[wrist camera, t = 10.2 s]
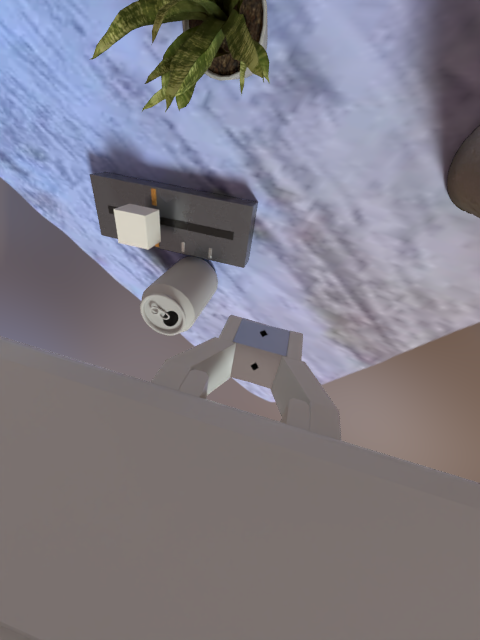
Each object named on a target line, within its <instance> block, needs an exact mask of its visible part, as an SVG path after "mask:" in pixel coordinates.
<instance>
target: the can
mask: <svg viewBox="0 0 480 640" xmlns="http://www.w3.org/2000/svg"><path fill="white" fill-rule="evenodd" d="M217 285H218V280H217V275H216V273H215V271H214V269H213V268H212V267H211V266H210V265H209V264H208V263H207V262H206V261H204V260H203V259H201V258H197V257H194V256H192V257H185V258H183V259H180V260H179V261H178V262H177V263H176V264H175V265H173V266H172V267H171V268H170V269H169V270H168V271H166V272H165V273H164V274H163V275H162V276H161V277H159V278H158V279H157V280H156V281H155V282H154V283H152V284H151V285H150V286H149V287H148V288H147V289H146V290H145V291H144V293H143V296H142V301H141V305H140V311H141V314H142V317H143V319H144V320H145V322H146V323H147V324H148V325H149V326H150V327H151V328H152V329H153V330H155V331H157V332H159V333H161V334H164V335H176V334H179V333H180V332H184V331H187V330H188V329H189V328H191V327H192V325H193V324H194V322H195V321H196V319H197V318H198V316H199V315H200V314H201V312H202V311H203V309H204V308H205V306H206V305H207V303H208V302H209V300H210V299H211V298H212V296H213V295H214V293H215V291H216V289H217Z"/></svg>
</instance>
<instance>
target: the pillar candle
mask: <svg viewBox="0 0 480 640" xmlns="http://www.w3.org/2000/svg"><path fill="white" fill-rule="evenodd" d="M447 187H448V194H449V197H450V198H451V200H452V202H453V203H454V204H455V205H456V206H457V207H458V208H459V209H461V210H463V211H466V212H468V213H470V214H473V215H475V216H477V217H479V218H480V126H479V127H477V128H476V129H475V130H474V132H473V133H472V134H471V135H470V136H469V137H468V138H467V139H466V140H465V141H464V142H463V144H462V145H461V147H460V148H459V150H458V151H457V153H456V155H455V157H454V159H453V161H452V163H451V166H450V169H449V173H448V179H447Z"/></svg>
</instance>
